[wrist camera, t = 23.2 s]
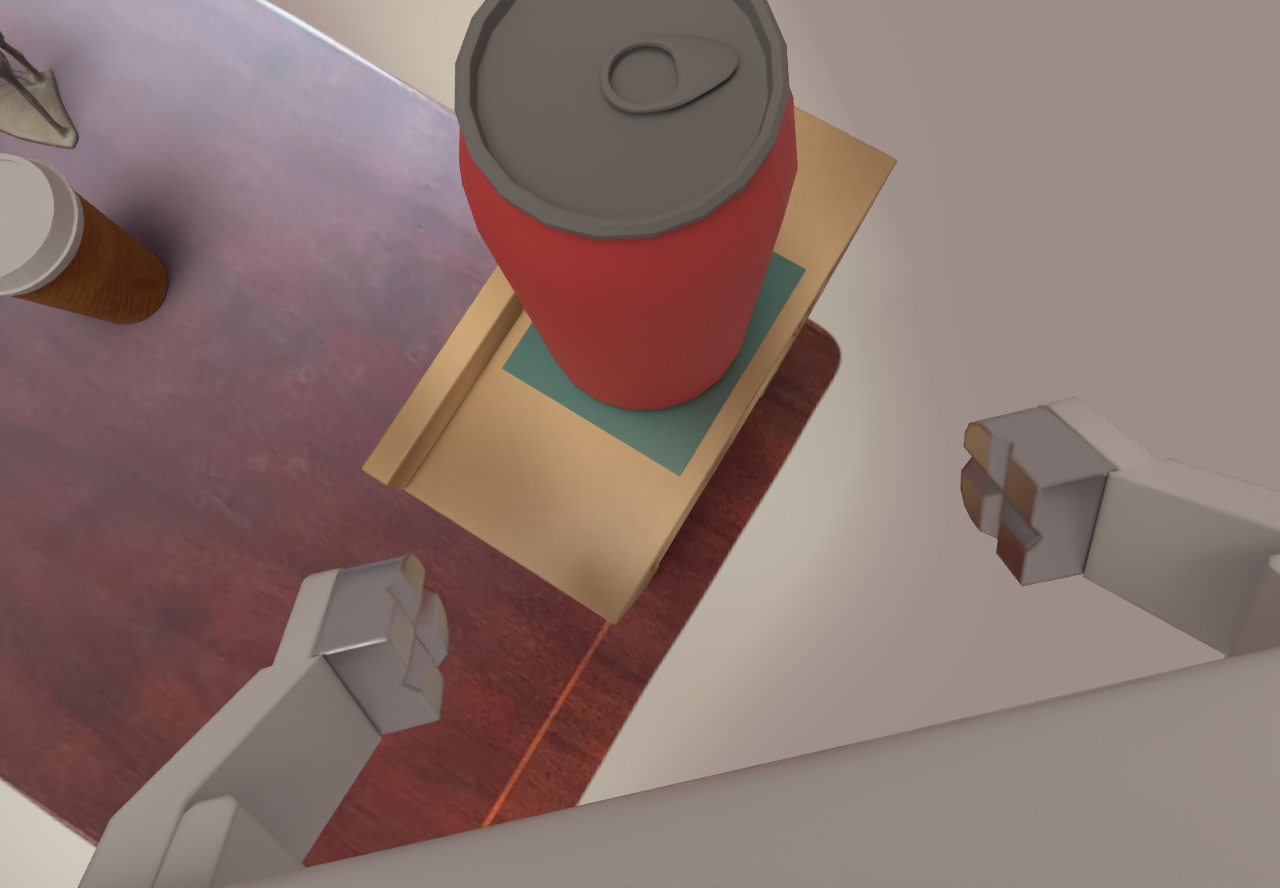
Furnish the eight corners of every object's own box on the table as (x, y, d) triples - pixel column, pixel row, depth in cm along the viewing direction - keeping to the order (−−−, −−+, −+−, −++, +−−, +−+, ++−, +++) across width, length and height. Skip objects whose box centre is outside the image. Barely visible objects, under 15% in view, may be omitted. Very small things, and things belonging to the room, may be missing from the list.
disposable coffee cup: (146, 364, 56) (6, 313, 44) (48, 313, 57) (-115, 249, 45) (210, 260, 57) (90, 182, 45) (113, 211, 58) (-29, 123, 46)
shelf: (646, 586, 52) (611, 630, 21) (542, 521, 53) (359, 468, 22) (773, 378, 54) (913, 132, 23) (670, 319, 55) (669, 7, 24)
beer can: (765, 393, 23) (865, 220, 11) (563, 432, 23) (450, 300, 11) (724, 205, 24) (775, -137, 12) (531, 242, 24) (396, -60, 12)
